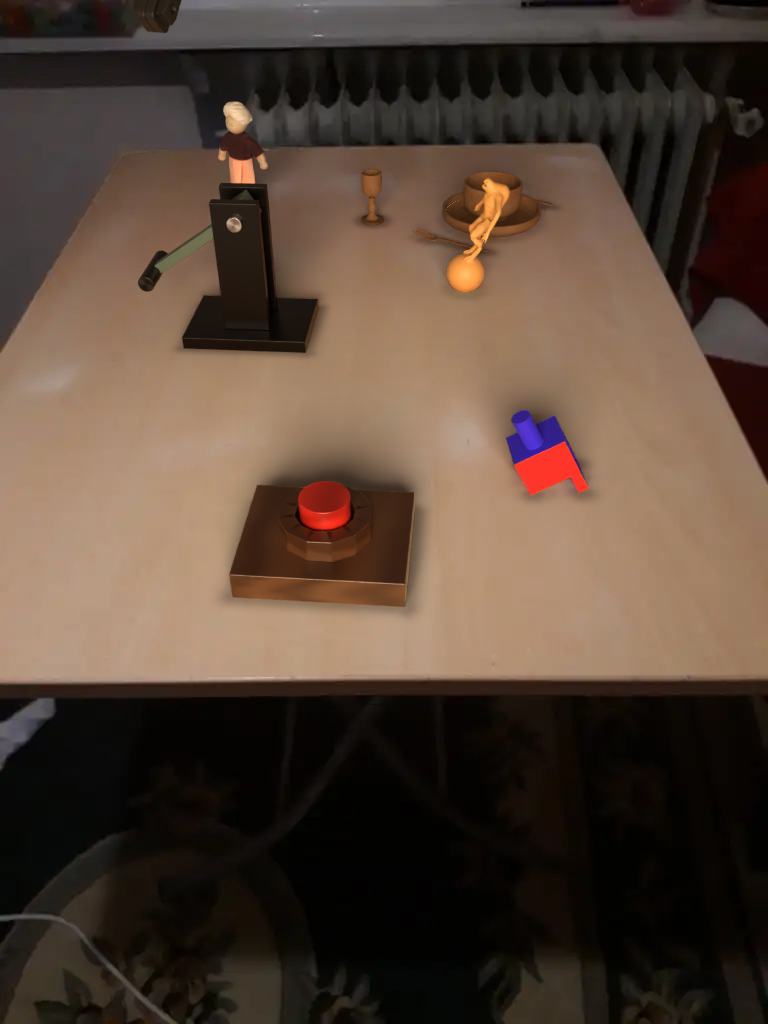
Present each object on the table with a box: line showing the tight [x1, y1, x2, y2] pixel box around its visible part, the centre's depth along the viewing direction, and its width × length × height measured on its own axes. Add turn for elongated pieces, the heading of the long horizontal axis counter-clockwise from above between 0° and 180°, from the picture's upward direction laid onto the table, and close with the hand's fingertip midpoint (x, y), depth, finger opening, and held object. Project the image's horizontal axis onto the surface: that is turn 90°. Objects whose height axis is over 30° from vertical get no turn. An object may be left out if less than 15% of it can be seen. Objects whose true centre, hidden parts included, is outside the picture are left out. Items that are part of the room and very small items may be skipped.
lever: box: [137, 190, 262, 293], centre depth 90 cm, size 13×6×2 cm
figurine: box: [446, 178, 510, 293], centre depth 97 cm, size 8×6×12 cm
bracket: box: [181, 182, 320, 354], centre depth 91 cm, size 12×9×14 cm
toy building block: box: [505, 409, 589, 496], centre depth 74 cm, size 4×4×8 cm
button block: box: [228, 483, 416, 608], centre depth 68 cm, size 12×10×4 cm
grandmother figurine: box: [217, 101, 269, 184], centre depth 115 cm, size 8×4×13 cm, turn 67°
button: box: [298, 480, 351, 531], centre depth 66 cm, size 4×4×2 cm
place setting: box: [360, 168, 553, 253], centre depth 115 cm, size 18×20×6 cm
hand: (151, 25), depth 69 cm, fingers closed
